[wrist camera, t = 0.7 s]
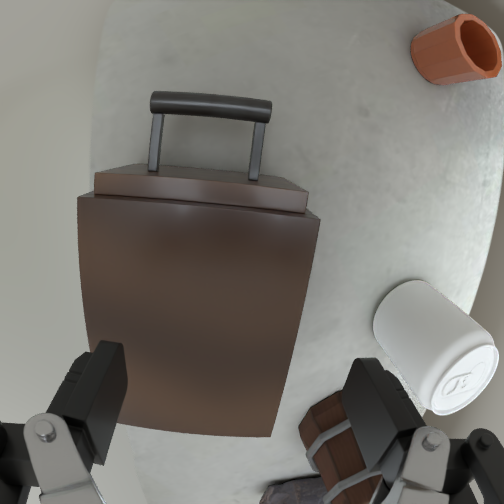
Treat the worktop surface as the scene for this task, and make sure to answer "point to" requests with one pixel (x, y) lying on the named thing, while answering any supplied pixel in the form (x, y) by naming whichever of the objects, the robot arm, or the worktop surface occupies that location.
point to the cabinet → (196, 306)
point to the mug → (337, 453)
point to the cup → (456, 51)
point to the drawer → (197, 179)
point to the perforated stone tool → (296, 492)
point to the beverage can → (435, 346)
